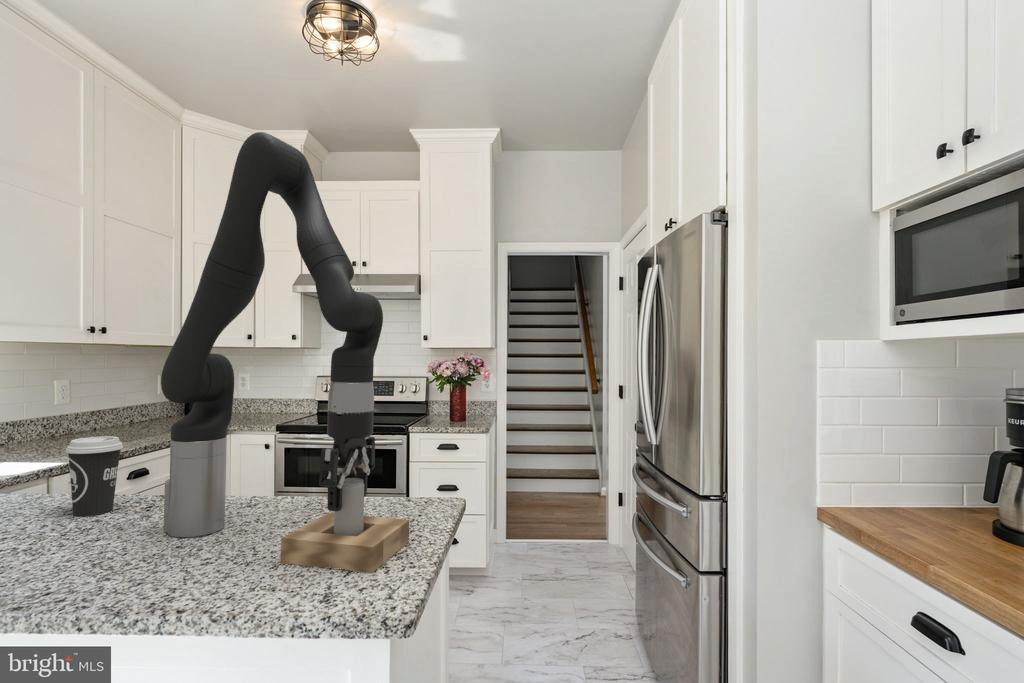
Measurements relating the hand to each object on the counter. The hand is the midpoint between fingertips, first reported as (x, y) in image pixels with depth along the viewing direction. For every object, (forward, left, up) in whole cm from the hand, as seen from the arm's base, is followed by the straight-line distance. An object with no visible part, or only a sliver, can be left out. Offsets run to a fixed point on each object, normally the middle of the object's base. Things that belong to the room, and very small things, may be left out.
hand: (347, 503), depth 92 cm
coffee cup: (-62, +7, -8) cm, 63 cm away
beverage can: (0, 0, -8) cm, 8 cm away
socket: (0, 0, -8) cm, 8 cm away
